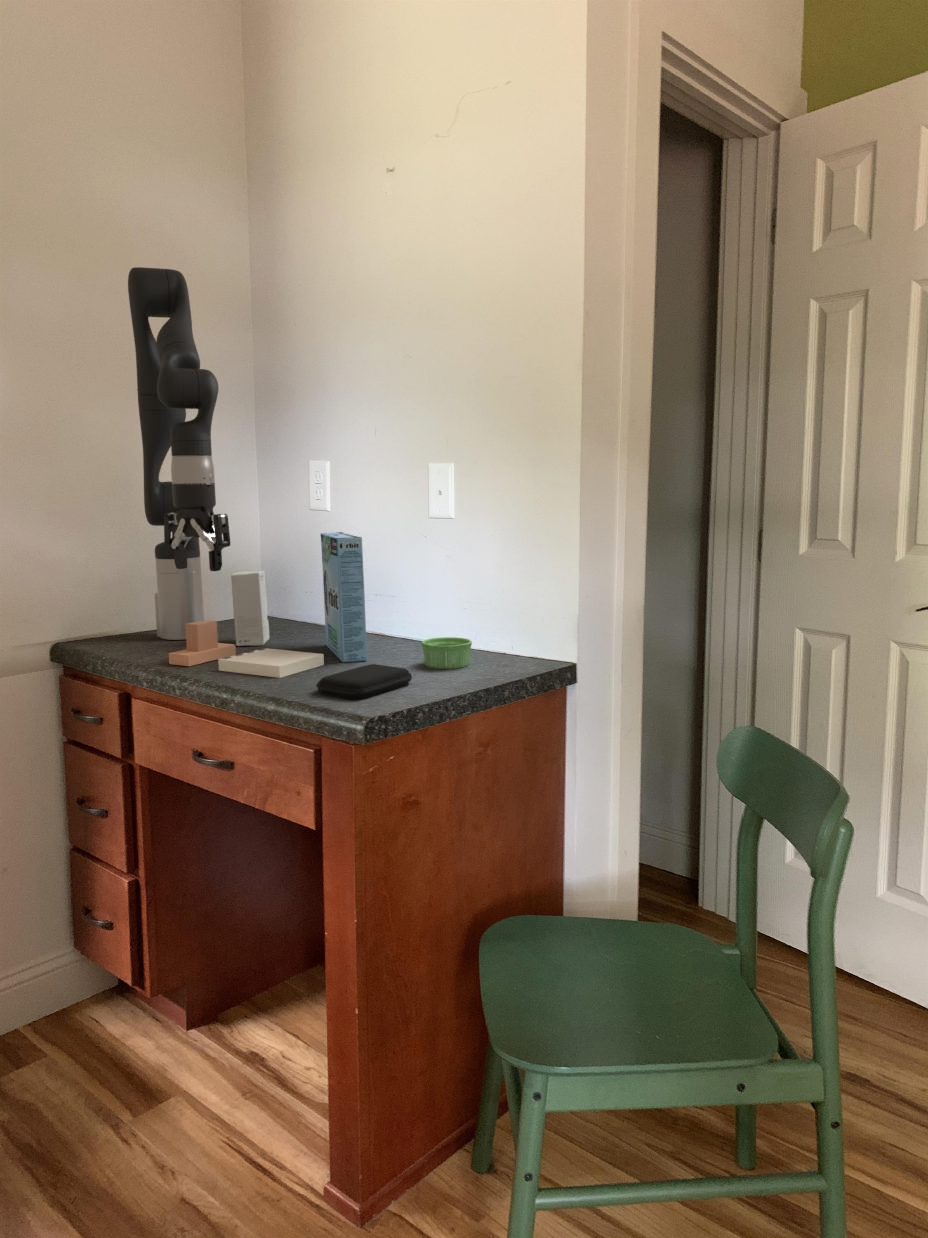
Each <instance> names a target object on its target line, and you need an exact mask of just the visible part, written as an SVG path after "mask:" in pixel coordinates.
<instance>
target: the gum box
mask: <svg viewBox="0 0 928 1238" xmlns="http://www.w3.org/2000/svg"><path fill="white" fill-rule="evenodd" d="M320 542H321V543H320V545H321V562H322V563H321V564H322V582H323V584H322V585H323V588H322V589H323V603H324V625H325V626H324V627H325V645H326V647H327V648H329V650H330V651H331V652H332V653H333V654H334V655H335V656H336V657H337V658H338V659H339V660H340V661H341V663H349V662H350V663H351V662H363V661H367V660H368V647H367V644H368V643H367V628H366V627H367V626H366V624H367V623H366V605H365V604H366V600H365V599H366V597H365V579H364V578H365V577H364V559H363V558H364V555H363V553H364V552H363V537H362V536H357V535H354V534H350V533H346V532H342V531H339V532H338V531H337V532H321V533H320Z"/></svg>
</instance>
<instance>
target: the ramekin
mask: <svg viewBox="0 0 928 1238" xmlns="http://www.w3.org/2000/svg"><path fill="white" fill-rule="evenodd" d="M472 644H473V642H472V640H471V639H469V638H466V637H465V638H464V637H457V636H456V637H455V636H451V637H450V636H449V637H448V636H446V637H443V636H442V637H433V638H426V639H423V640H422V641H421V645H422V650H423V659H424V665H425V666H426V667H427V668H431V669H435V670H436V669H437V670H452V669H453V670H454V669H456V670H457V669H461V668H466V667H468V666H469V665H470V661H471V647H472Z"/></svg>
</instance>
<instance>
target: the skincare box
mask: <svg viewBox="0 0 928 1238" xmlns="http://www.w3.org/2000/svg"><path fill="white" fill-rule="evenodd" d="M230 578H231V579H230V580H231V591H232V607H233V619H234V623H233V624H234V633H235V646H237V647H239V646H240V647H243V646H250V647H251V646H255V647H256V646H258V647H259V646H264V645H265V643H267V642H268V641H269V640H270V625H269V613H268V599H267V597H268V596H267V588H266V587H267V586H266V571H265V570H253V571H252V570H251V571H250V570H249V571H247V570H246V571H238V572H234V573H233V574H231V575H230Z"/></svg>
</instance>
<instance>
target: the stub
mask: <svg viewBox="0 0 928 1238" xmlns="http://www.w3.org/2000/svg"><path fill="white" fill-rule="evenodd" d="M185 626H186V639H185V640H186V641H185V642H186V649H182V650H177V651H173V652H169V653H168V663H169V665H173V666H174V665H176V666H182V667H183V666H185V667H191V666H196V665H200V664H203V663H204V664H205V663H207V662H214V661H217V660H218V659H222V658H226V657H230V656H234V655H237V654H236V651H237V649H236V644H232V643H224V642H223V643H222V642H219V637H218V636H219V635H218V633H219V632H218V621H217V620H209V619H208V620H207V619H204V620H203V621H198V622H193V623H188V624H185Z"/></svg>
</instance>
